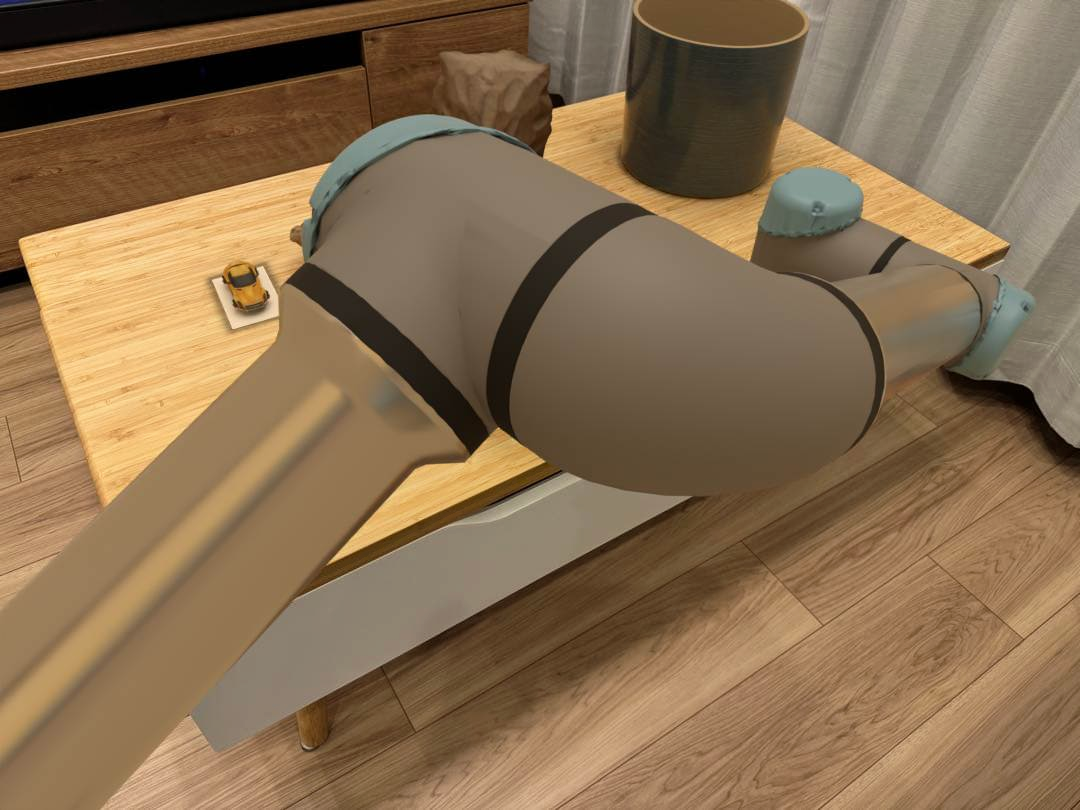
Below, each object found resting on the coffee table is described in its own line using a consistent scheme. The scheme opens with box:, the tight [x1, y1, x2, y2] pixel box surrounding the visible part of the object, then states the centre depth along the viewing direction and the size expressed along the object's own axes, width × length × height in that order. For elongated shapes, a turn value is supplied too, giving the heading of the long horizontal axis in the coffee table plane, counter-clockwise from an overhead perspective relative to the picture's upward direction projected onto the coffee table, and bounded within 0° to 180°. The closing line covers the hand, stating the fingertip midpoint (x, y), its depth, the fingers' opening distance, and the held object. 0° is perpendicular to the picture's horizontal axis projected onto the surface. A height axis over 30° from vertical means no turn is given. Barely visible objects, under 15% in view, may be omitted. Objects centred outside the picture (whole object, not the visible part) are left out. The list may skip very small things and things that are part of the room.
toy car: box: [211, 260, 279, 330], centre depth 87 cm, size 4×8×2 cm, turn 29°
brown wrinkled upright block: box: [430, 49, 554, 158], centre depth 94 cm, size 13×13×20 cm
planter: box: [620, 0, 811, 199], centre depth 105 cm, size 22×22×20 cm
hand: (452, 301), depth 76 cm, fingers open, 13 cm apart
